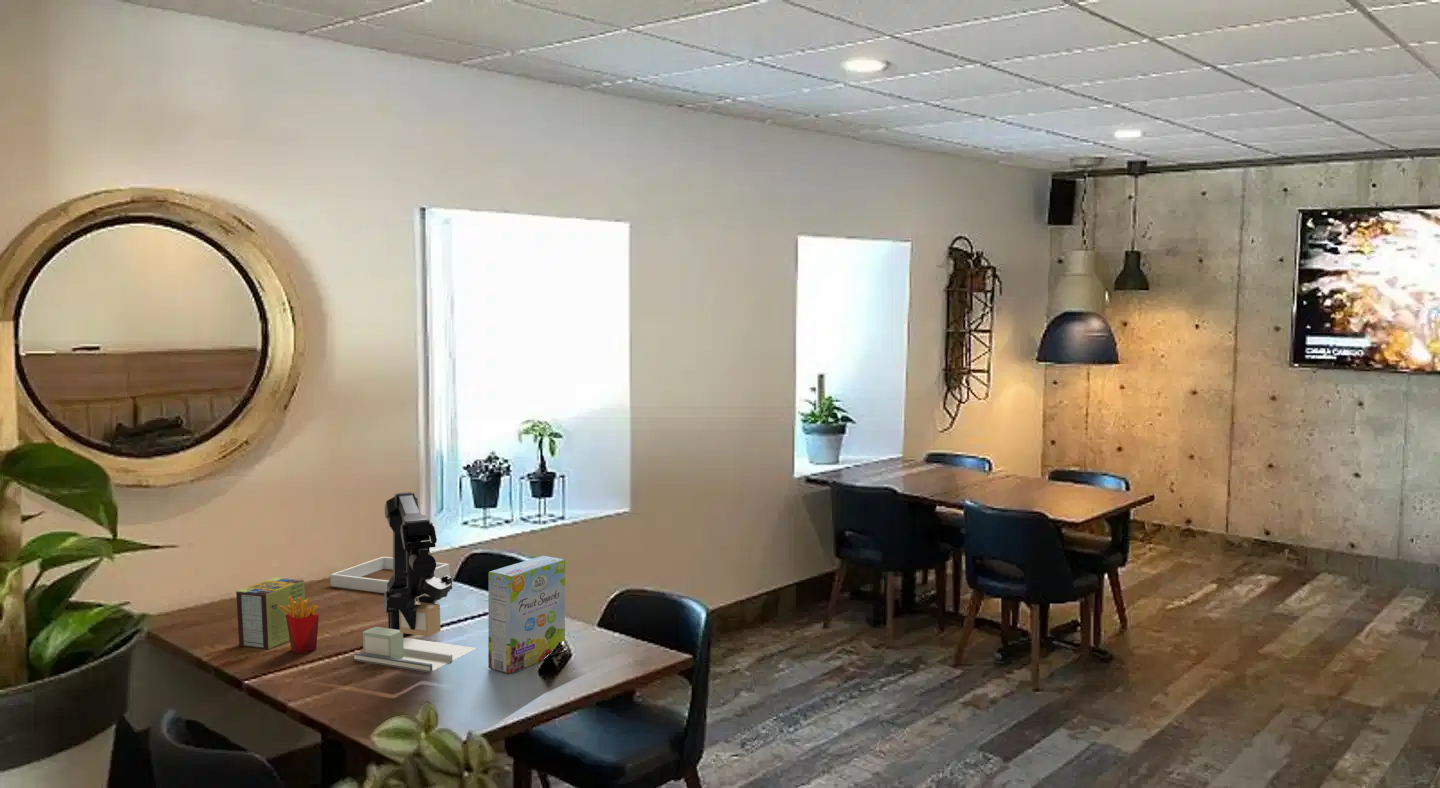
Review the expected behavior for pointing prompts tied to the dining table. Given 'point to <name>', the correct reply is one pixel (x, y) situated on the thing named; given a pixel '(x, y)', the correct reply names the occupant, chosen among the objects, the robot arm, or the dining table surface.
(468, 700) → the dining table surface
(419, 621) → the ochre tea box
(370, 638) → the sage tea box
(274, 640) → the protein box
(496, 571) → the snack box
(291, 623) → the french fries
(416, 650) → the shelf
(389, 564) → the serving tray rim
